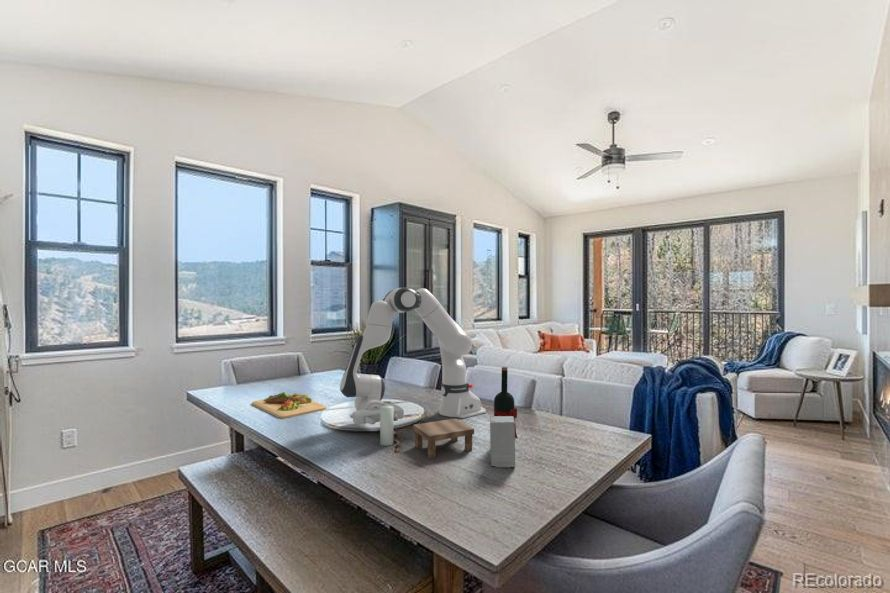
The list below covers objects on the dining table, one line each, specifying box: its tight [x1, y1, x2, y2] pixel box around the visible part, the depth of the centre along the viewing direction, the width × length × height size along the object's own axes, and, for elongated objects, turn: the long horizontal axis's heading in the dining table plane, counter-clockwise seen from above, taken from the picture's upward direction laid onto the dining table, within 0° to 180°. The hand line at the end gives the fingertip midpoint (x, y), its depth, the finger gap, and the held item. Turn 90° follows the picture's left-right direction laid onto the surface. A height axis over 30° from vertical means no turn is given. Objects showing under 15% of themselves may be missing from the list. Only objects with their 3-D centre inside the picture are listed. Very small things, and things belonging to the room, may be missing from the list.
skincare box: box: [489, 415, 516, 468], centre depth 150 cm, size 8×7×16 cm
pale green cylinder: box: [379, 405, 395, 447], centre depth 169 cm, size 5×5×14 cm
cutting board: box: [251, 391, 327, 420], centre depth 218 cm, size 35×23×8 cm
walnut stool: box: [413, 417, 475, 459], centre depth 164 cm, size 18×14×8 cm
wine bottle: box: [493, 366, 519, 440], centre depth 165 cm, size 8×10×30 cm
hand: (384, 420), depth 171 cm, fingers open, 8 cm apart
